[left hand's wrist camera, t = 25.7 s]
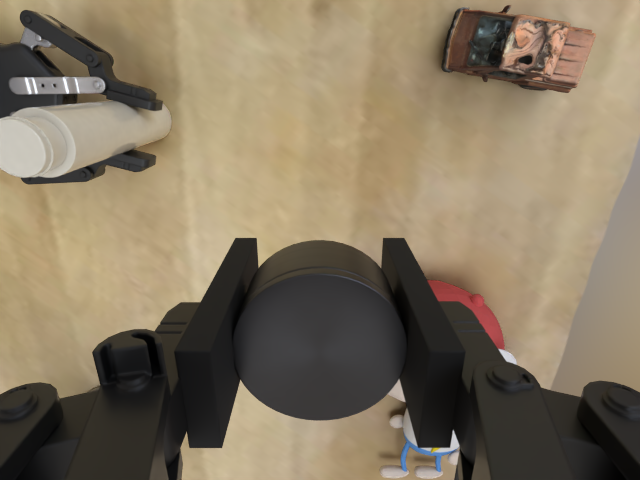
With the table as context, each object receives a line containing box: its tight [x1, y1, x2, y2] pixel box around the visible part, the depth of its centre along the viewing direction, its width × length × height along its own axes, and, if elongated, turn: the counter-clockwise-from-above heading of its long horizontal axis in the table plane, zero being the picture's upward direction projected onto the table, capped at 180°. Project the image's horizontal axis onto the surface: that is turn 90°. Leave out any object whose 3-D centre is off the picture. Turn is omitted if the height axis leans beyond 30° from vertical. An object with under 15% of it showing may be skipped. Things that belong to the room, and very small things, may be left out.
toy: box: [380, 280, 517, 479], centre depth 47 cm, size 18×10×30 cm
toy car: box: [442, 5, 596, 93], centre depth 33 cm, size 6×12×7 cm, turn 88°
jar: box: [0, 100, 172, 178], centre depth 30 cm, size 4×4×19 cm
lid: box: [232, 240, 408, 420], centre depth 12 cm, size 5×5×2 cm
